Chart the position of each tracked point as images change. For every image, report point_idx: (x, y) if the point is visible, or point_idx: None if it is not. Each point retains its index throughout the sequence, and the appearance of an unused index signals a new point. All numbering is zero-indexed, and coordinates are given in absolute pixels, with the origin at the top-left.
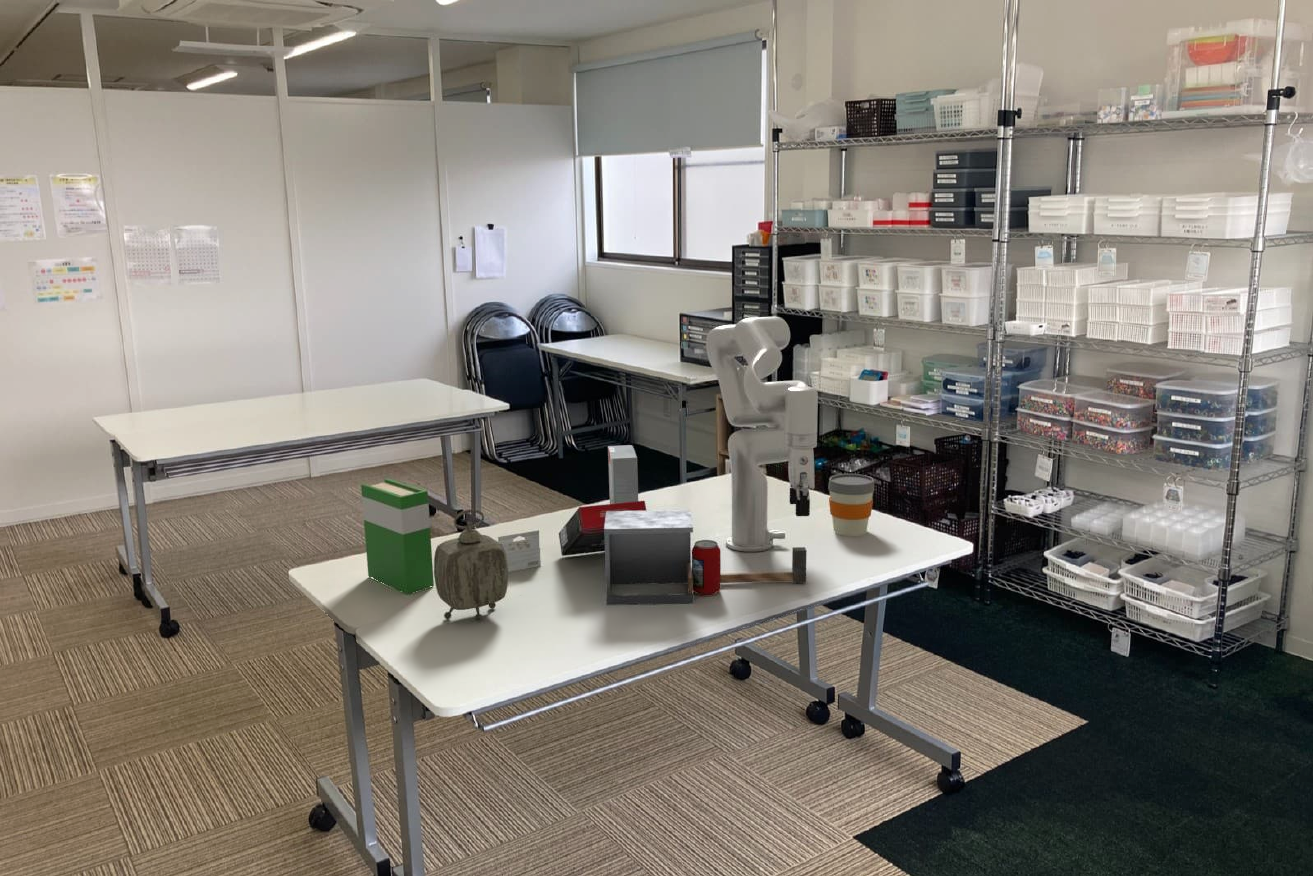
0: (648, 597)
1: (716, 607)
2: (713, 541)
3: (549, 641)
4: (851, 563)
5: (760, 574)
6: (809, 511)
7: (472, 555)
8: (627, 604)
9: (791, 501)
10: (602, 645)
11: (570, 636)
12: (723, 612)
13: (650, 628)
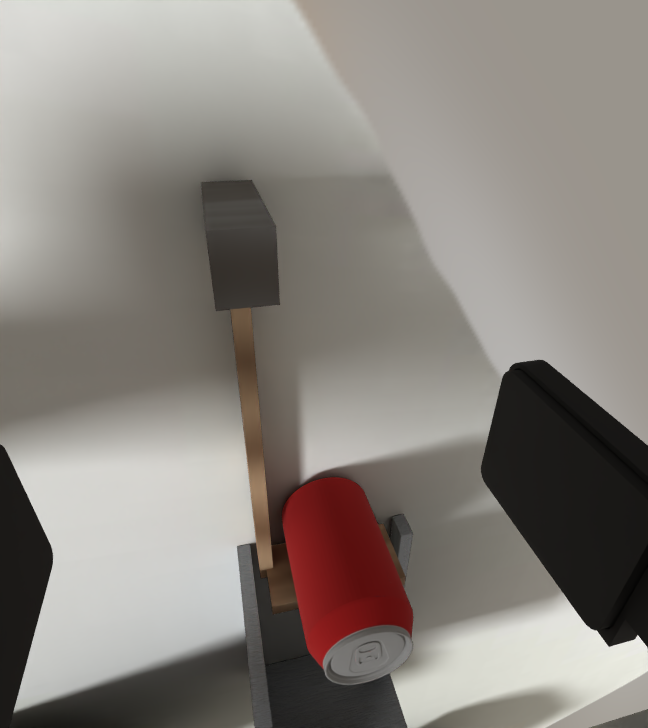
0: None
1: (439, 465)
2: (342, 647)
3: (524, 652)
4: None
5: (257, 386)
6: (571, 385)
7: None
8: None
9: (42, 577)
10: None
11: (515, 638)
12: (477, 446)
13: (521, 555)
